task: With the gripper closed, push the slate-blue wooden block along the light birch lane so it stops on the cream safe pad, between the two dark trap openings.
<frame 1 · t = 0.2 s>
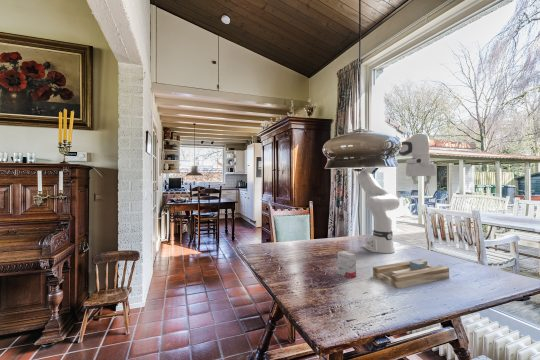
hand: (421, 183, 150), 47 cm above the table, tool pointing down, fingers open, 8 cm apart
ink box: (347, 275, 135), on the table
slate block: (417, 269, 133), point 3 cm above the table, touching trap lane
trap lane: (410, 277, 131), on the table
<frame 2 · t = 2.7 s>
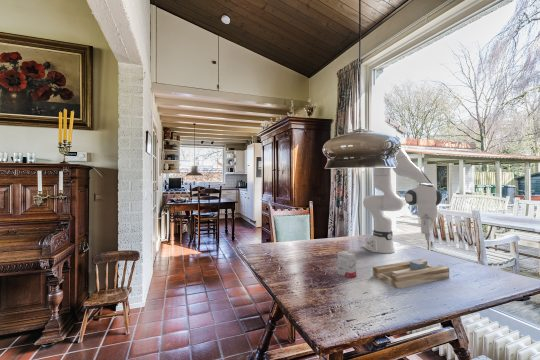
hand: (427, 239, 135), 18 cm above the table, tool pointing down, fingers closed
nothing on the table moved.
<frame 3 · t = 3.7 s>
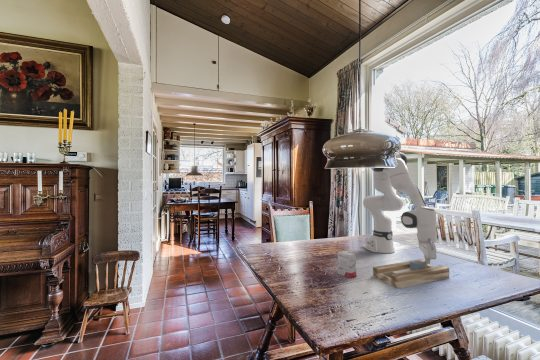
hand: (427, 263, 135), 6 cm above the table, tool pointing down, fingers closed
nothing on the table moved.
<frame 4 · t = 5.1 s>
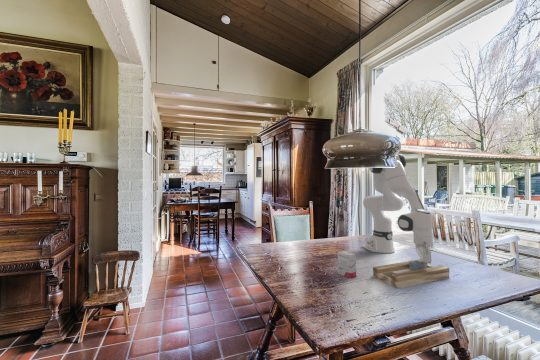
hand: (423, 266, 134), 4 cm above the table, tool pointing down, fingers closed
slate block: (417, 270, 132), point 3 cm above the table, touching gripper
everything else where it was.
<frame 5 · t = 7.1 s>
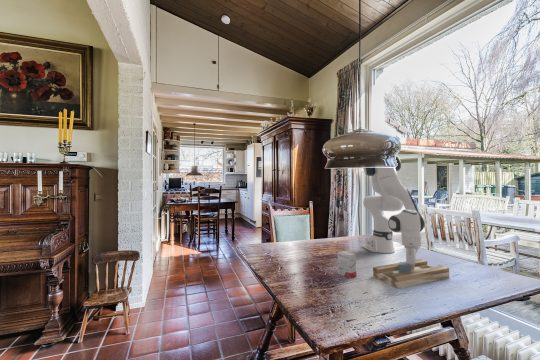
hand: (412, 269, 130), 5 cm above the table, tool pointing down, fingers closed, pressing on slate block
slate block: (405, 271, 130), point 3 cm above the table, touching gripper, trap lane
everything else where it was.
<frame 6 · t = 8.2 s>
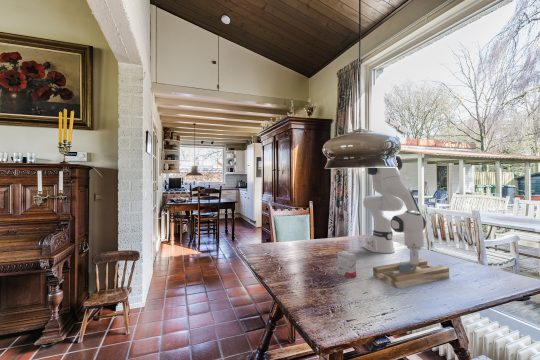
hand: (414, 268, 132), 4 cm above the table, tool pointing down, fingers closed
slate block: (405, 271, 130), point 3 cm above the table, touching trap lane
everything else where it was.
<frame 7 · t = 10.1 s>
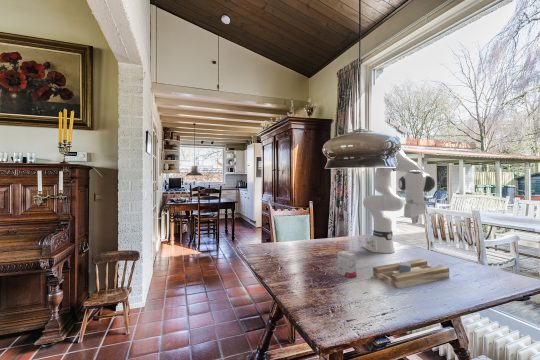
hand: (415, 223, 144), 25 cm above the table, tool pointing down, fingers closed
nothing on the table moved.
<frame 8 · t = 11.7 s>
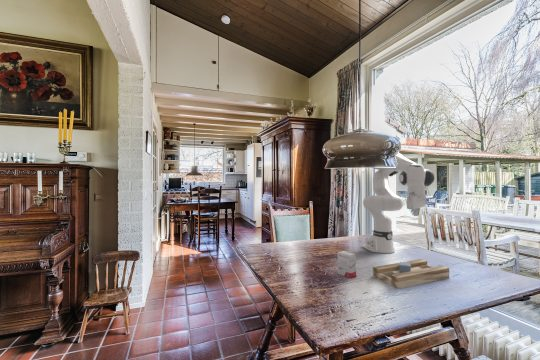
hand: (416, 215, 147), 29 cm above the table, tool pointing down, fingers closed
nothing on the table moved.
at the end: slate block inside the target area on the trap lane (1.4 cm from its centre), point 3.0 cm above the trap lane's base; slate block tilted 0° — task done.
